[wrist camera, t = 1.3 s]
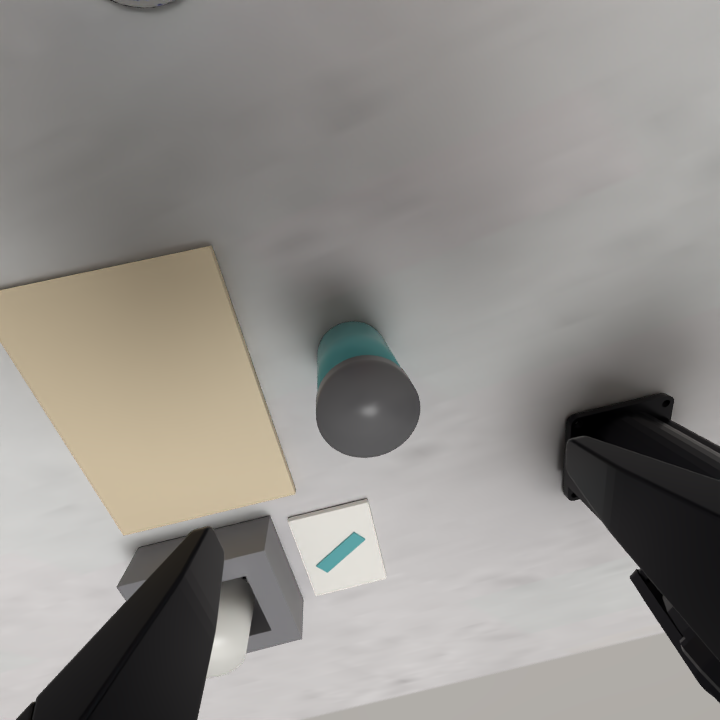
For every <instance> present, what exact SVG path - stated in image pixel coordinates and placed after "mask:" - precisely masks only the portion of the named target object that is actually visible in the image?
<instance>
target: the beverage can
mask: <svg viewBox="0 0 720 720" xmlns="http://www.w3.org/2000/svg"><path fill="white" fill-rule="evenodd" d="M111 1H113V2H116V3H119V4H122V5H125V6H131V7H137V8H151V7H157V6H162V5H165V4H167V3H170V2H172V1H174V0H111Z"/></svg>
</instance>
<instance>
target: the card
mask: <svg viewBox="0 0 720 720" xmlns="http://www.w3.org/2000/svg"><path fill="white" fill-rule="evenodd" d="M288 523H289V526H290V529H291V532H292V534H293V537H294V540H295V542H296V545H297V548H298V550H299V553H300V556H301V558H302V561H303V564H304V566H305V569H306V572H307V574H308V577H309V580H310V582H311V585H312V588H313V590H314V593H315V596H319V595H323V594H327V593H331V592H335V591H339V590H343V589H347V588H351V587H355V586H359V585H363V584H367V583H371V582H374V581H378V580H382V579H386V578H387V577H386V573H385V568H384V564H383V560H382V556H381V552H380V548H379V544H378V540H377V536H376V532H375V527H374V523H373V519H372V515H371V511H370V507H369V503H368V499H364V500H360V501H356V502H352V503H348V504H344V505H340V506H335V507H331V508H327V509H323V510H319V511H315V512H311V513H307V514H303V515H299V516H295V517H290V518H288Z"/></svg>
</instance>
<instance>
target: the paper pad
mask: <svg viewBox="0 0 720 720" xmlns="http://www.w3.org/2000/svg"><path fill="white" fill-rule="evenodd" d="M0 342H1V344H2V345H3V347H4V349H5V350H6V352H7V353H8V355H9V356H10V358H11V360H12V361H13V363H14V364H15V366H16V367H17V369H18V371H19V372H20V374H21V375H22V377H23V378H24V380H25V382H26V383H27V385H28V386H29V388H30V389H31V391H32V393H33V394H34V396H35V397H36V399H37V400H38V402H39V404H40V405H41V407H42V408H43V410H44V411H45V413H46V415H47V416H48V418H49V419H50V421H51V422H52V424H53V426H54V427H55V429H56V430H57V432H58V433H59V435H60V437H61V438H62V440H63V441H64V443H65V444H66V446H67V448H68V449H69V451H70V452H71V454H72V455H73V457H74V459H75V460H76V462H77V463H78V465H79V466H80V468H81V470H82V471H83V473H84V474H85V476H86V477H87V479H88V481H89V482H90V484H91V485H92V487H93V488H94V490H95V492H96V493H97V495H98V496H99V498H100V499H101V501H102V503H103V504H104V506H105V507H106V509H107V510H108V512H109V514H110V515H111V517H112V518H113V520H114V521H115V523H116V525H117V526H118V528H119V529H120V531H121V532H122V534H123V536H124V535H128V534H133V533H137V532H141V531H145V530H149V529H153V528H157V527H162V526H166V525H170V524H174V523H178V522H182V521H186V520H191V519H195V518H199V517H203V516H207V515H211V514H215V513H220V512H224V511H228V510H232V509H236V508H240V507H244V506H249V505H253V504H257V503H261V502H265V501H269V500H273V499H277V498H282V497H286V496H290V495H294V494H295V492H296V489H295V486H294V483H293V480H292V477H291V474H290V471H289V468H288V465H287V463H286V460H285V457H284V454H283V451H282V448H281V445H280V442H279V439H278V436H277V434H276V431H275V428H274V425H273V422H272V419H271V416H270V413H269V410H268V407H267V405H266V402H265V399H264V396H263V393H262V390H261V387H260V384H259V381H258V378H257V376H256V373H255V370H254V367H253V364H252V361H251V358H250V355H249V352H248V349H247V346H246V344H245V341H244V338H243V335H242V332H241V329H240V326H239V323H238V320H237V317H236V315H235V312H234V309H233V306H232V303H231V300H230V297H229V294H228V291H227V288H226V286H225V283H224V280H223V277H222V274H221V271H220V268H219V265H218V262H217V259H216V257H215V254H214V251H213V248H212V246H207V247H202V248H197V249H193V250H188V251H183V252H179V253H174V254H169V255H164V256H160V257H155V258H150V259H145V260H141V261H136V262H131V263H126V264H122V265H117V266H112V267H107V268H103V269H98V270H93V271H89V272H84V273H79V274H74V275H70V276H65V277H60V278H55V279H51V280H46V281H41V282H36V283H32V284H27V285H22V286H18V287H13V288H8V289H3V290H0Z"/></svg>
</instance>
